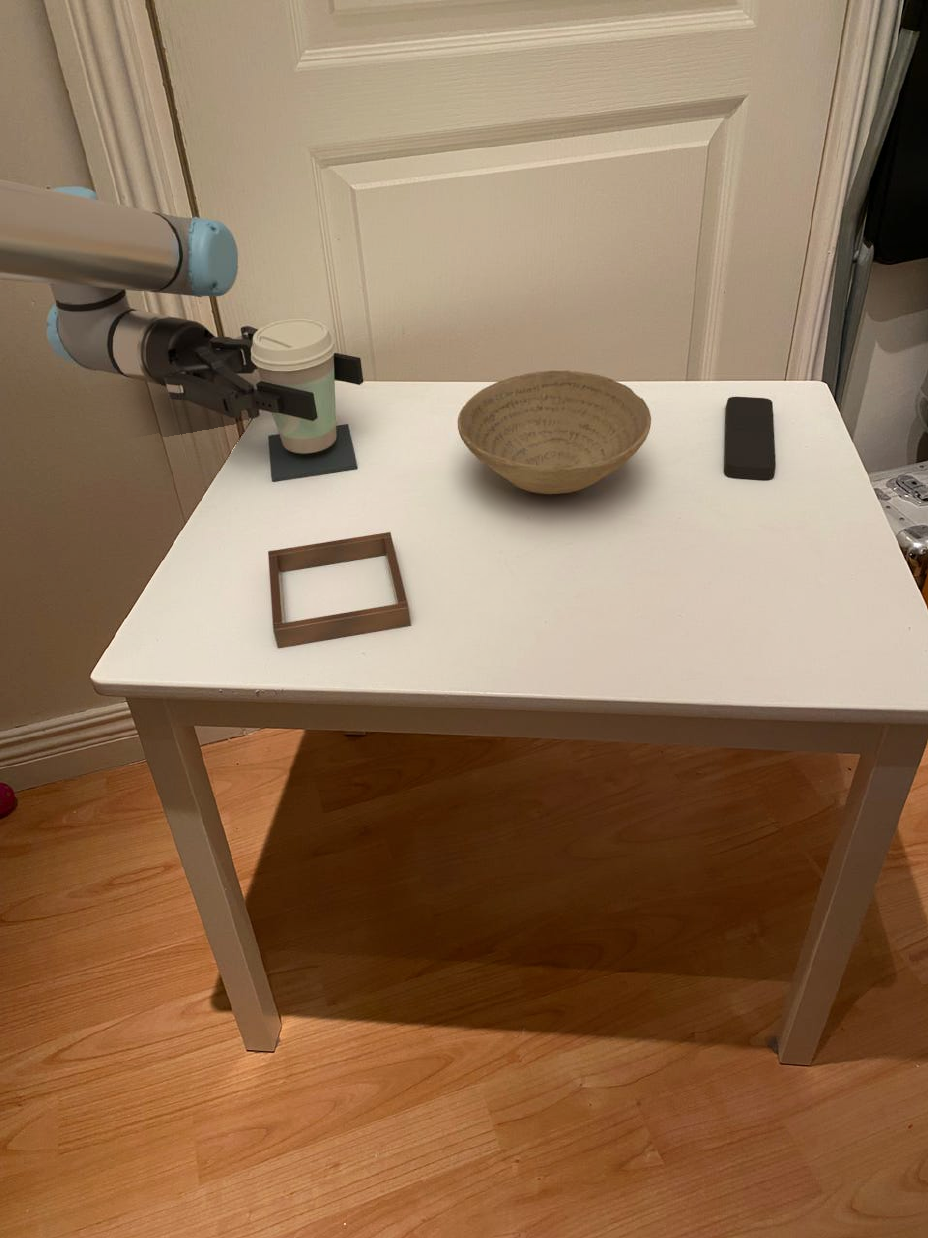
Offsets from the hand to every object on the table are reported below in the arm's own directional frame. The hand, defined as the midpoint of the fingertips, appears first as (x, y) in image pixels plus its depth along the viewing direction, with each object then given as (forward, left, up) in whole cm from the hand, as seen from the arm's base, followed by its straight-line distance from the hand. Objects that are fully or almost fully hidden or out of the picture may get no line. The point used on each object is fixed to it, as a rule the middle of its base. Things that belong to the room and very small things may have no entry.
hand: (337, 388), depth 94 cm
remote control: (+42, -8, -9) cm, 43 cm away
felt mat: (-4, +3, -9) cm, 10 cm away
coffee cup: (-4, +3, -7) cm, 9 cm away
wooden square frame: (-3, -22, -9) cm, 24 cm away
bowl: (+20, -10, -9) cm, 24 cm away
